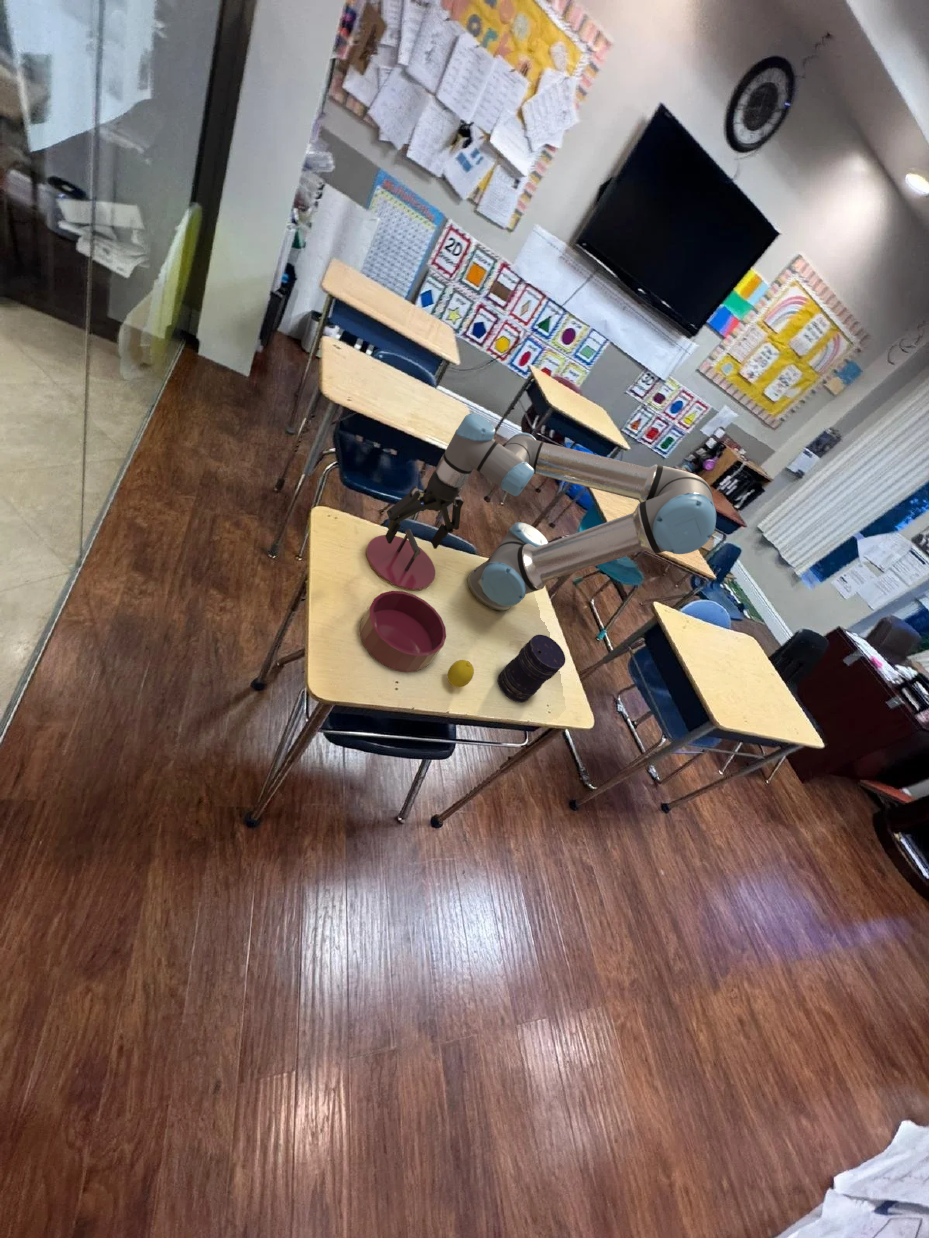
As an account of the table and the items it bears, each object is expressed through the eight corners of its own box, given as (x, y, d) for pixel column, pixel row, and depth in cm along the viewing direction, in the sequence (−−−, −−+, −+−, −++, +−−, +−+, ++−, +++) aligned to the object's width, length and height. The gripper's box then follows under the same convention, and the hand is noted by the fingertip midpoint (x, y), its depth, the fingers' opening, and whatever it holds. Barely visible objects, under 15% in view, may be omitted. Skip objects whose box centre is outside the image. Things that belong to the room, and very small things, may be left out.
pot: (419, 609, 130) (430, 592, 126) (444, 670, 121) (457, 654, 117) (351, 607, 119) (360, 589, 115) (372, 674, 110) (383, 657, 106)
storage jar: (519, 667, 134) (552, 633, 125) (537, 699, 130) (572, 666, 120) (490, 671, 128) (523, 635, 119) (508, 705, 123) (543, 670, 114)
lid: (420, 541, 149) (433, 518, 143) (443, 593, 139) (458, 570, 133) (357, 534, 137) (369, 508, 132) (377, 589, 127) (391, 564, 122)
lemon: (460, 697, 118) (477, 678, 113) (439, 686, 117) (455, 666, 112) (464, 680, 122) (481, 660, 117) (444, 669, 121) (460, 649, 116)
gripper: (484, 477, 129) (446, 537, 142) (397, 456, 114) (363, 526, 128) (496, 497, 125) (455, 557, 139) (407, 478, 110) (371, 548, 124)
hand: (411, 542), depth 133 cm, fingers open, 13 cm apart
